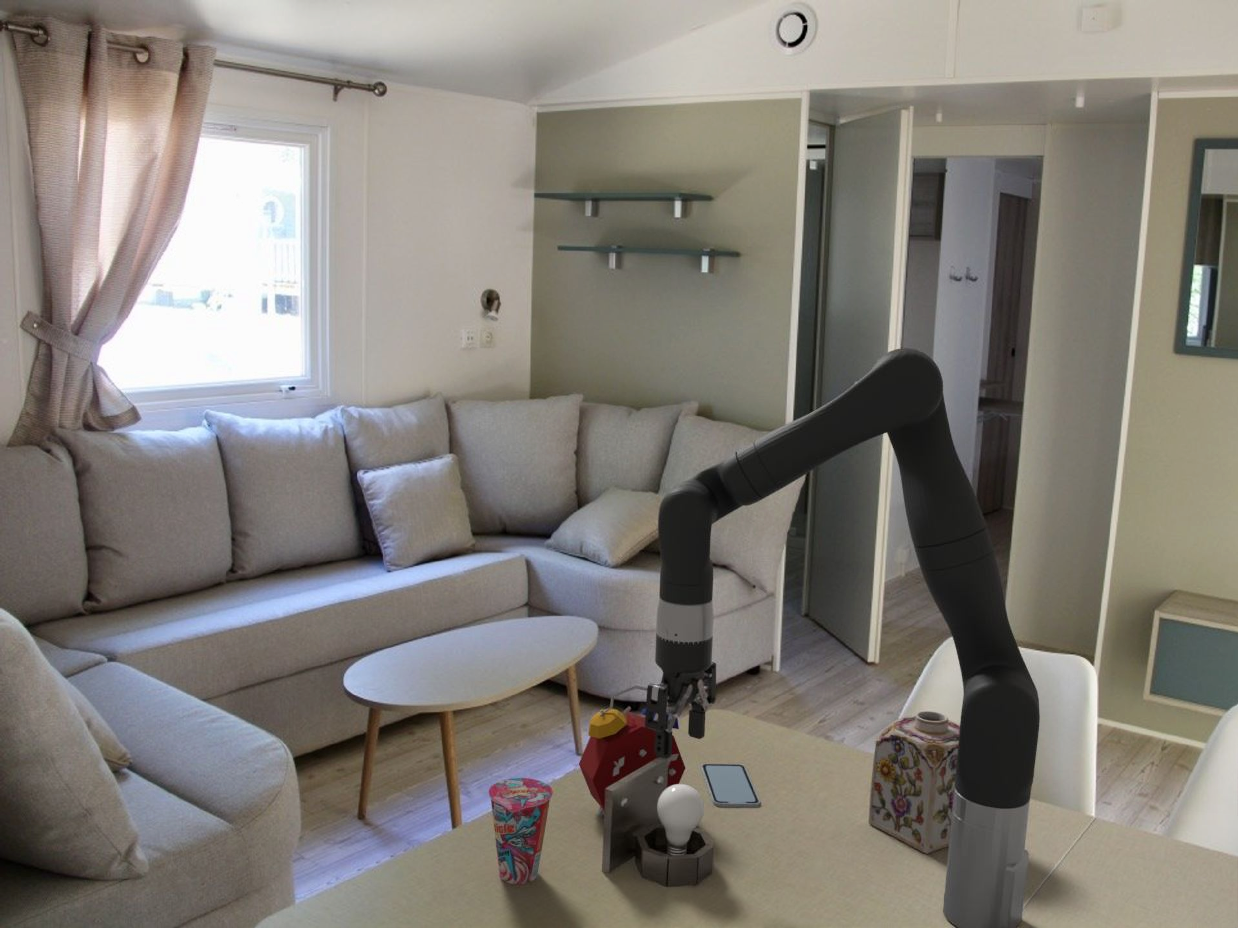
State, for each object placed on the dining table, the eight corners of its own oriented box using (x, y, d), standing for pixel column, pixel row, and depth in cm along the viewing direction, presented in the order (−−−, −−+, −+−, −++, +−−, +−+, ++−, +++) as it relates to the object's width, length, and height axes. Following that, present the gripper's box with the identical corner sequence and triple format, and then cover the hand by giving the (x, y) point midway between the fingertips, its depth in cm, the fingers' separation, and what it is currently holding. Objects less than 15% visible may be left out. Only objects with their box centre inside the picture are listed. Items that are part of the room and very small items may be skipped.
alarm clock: (666, 796, 191) (673, 673, 187) (690, 821, 183) (697, 693, 179) (576, 809, 185) (581, 682, 182) (596, 835, 177) (601, 703, 174)
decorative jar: (926, 856, 175) (937, 737, 172) (865, 824, 185) (874, 710, 181) (979, 835, 182) (991, 720, 179) (918, 805, 192) (928, 695, 188)
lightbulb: (695, 876, 165) (702, 799, 163) (648, 868, 167) (654, 792, 164) (702, 853, 171) (708, 779, 169) (657, 846, 173) (663, 772, 171)
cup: (479, 863, 168) (481, 781, 166) (539, 855, 171) (542, 774, 169) (497, 898, 160) (500, 811, 157) (560, 888, 163) (563, 803, 160)
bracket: (730, 859, 172) (735, 778, 170) (677, 900, 161) (682, 814, 159) (657, 833, 179) (661, 755, 177) (601, 870, 167) (605, 788, 165)
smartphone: (744, 763, 204) (761, 803, 189) (744, 768, 204) (761, 808, 189) (700, 763, 203) (713, 803, 188) (699, 768, 203) (713, 808, 188)
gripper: (680, 650, 155) (675, 771, 158) (735, 623, 167) (730, 737, 170) (631, 638, 160) (627, 756, 162) (688, 613, 171) (683, 724, 174)
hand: (680, 746), depth 166 cm, fingers open, 8 cm apart
